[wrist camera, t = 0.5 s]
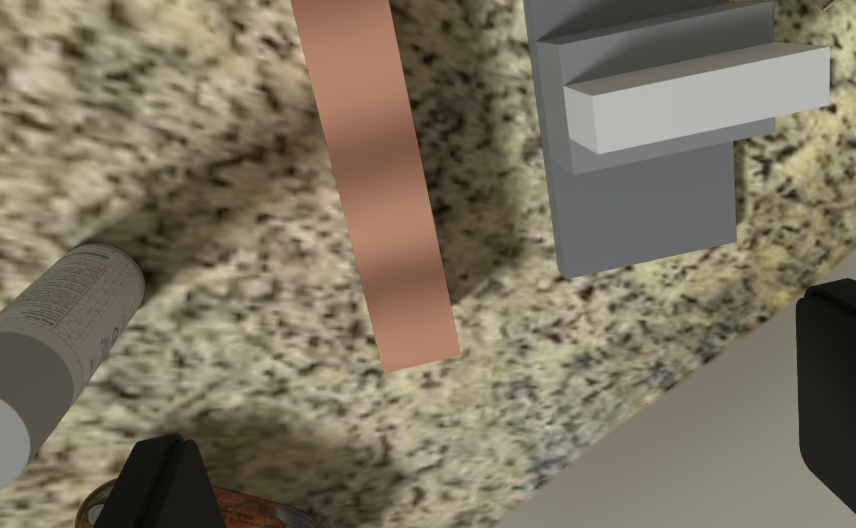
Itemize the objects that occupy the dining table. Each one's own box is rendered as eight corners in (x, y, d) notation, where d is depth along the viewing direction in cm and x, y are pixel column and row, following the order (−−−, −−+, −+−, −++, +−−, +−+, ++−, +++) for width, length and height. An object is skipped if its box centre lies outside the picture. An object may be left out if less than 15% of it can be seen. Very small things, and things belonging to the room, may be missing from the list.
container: (149, 323, 40) (43, 495, 26) (60, 323, 39) (-98, 499, 25) (142, 243, 38) (25, 380, 24) (49, 242, 38) (-126, 381, 23)
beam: (277, -87, 34) (263, -106, 28) (359, -104, 34) (362, -126, 28) (378, 323, 42) (384, 373, 36) (445, 308, 42) (461, 355, 36)
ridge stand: (508, -109, 34) (566, -151, 25) (707, -149, 35) (833, -203, 26) (558, 270, 41) (617, 341, 32) (723, 234, 42) (826, 294, 33)
